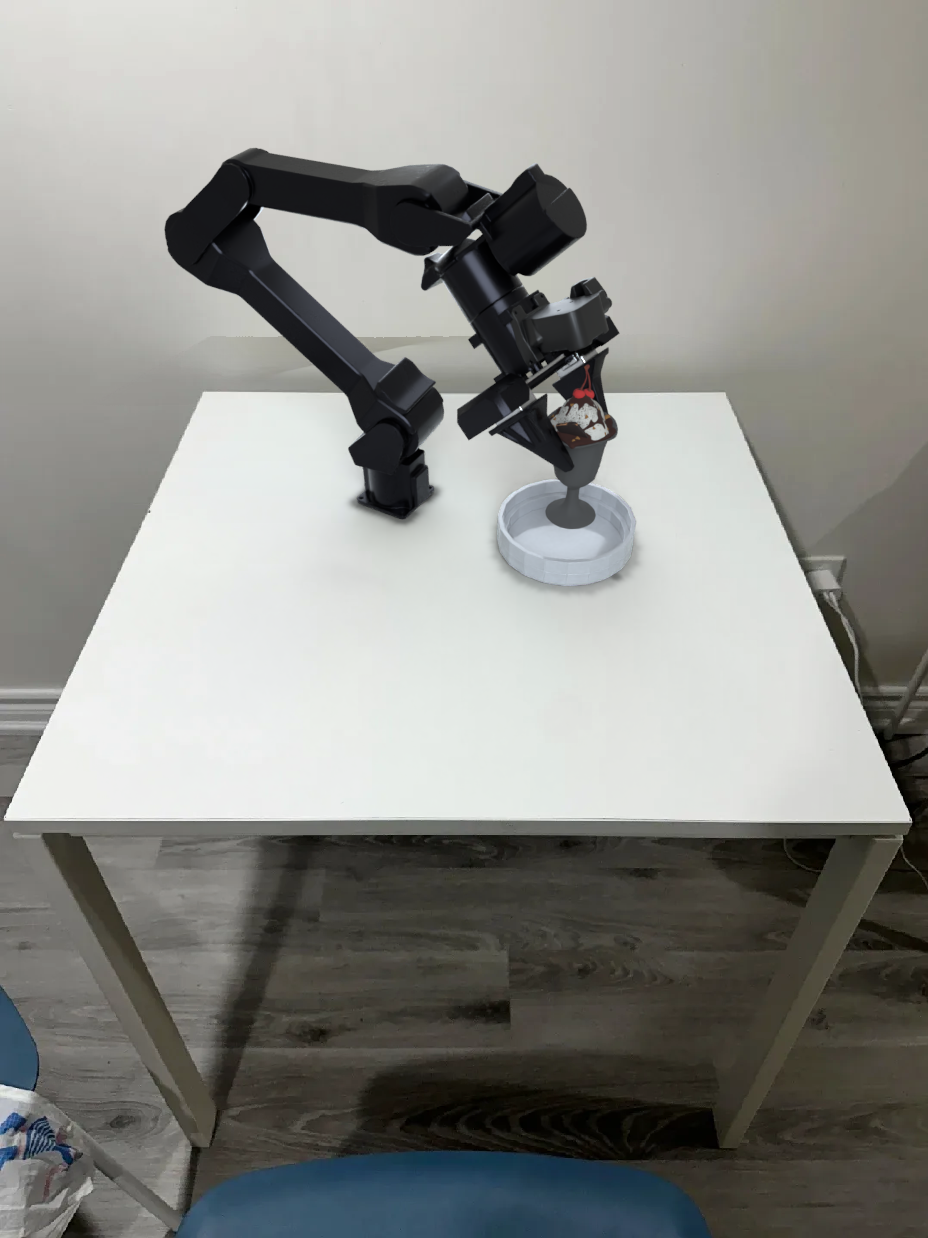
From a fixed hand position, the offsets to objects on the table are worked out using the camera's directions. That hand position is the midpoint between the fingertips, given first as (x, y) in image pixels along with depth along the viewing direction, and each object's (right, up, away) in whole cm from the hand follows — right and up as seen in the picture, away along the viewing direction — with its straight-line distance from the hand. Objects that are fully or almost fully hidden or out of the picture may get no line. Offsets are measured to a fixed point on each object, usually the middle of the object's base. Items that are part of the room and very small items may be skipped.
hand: (589, 453), depth 81 cm
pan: (-1, -7, +12) cm, 14 cm away
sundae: (-1, -5, +6) cm, 8 cm away
